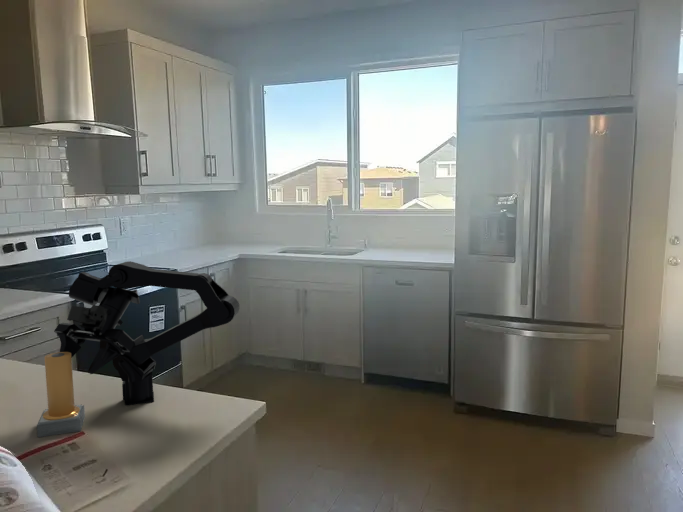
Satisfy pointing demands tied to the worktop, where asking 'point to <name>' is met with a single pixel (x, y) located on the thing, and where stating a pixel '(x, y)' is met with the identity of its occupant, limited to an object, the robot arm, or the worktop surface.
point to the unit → (61, 422)
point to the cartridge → (59, 384)
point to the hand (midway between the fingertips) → (73, 370)
